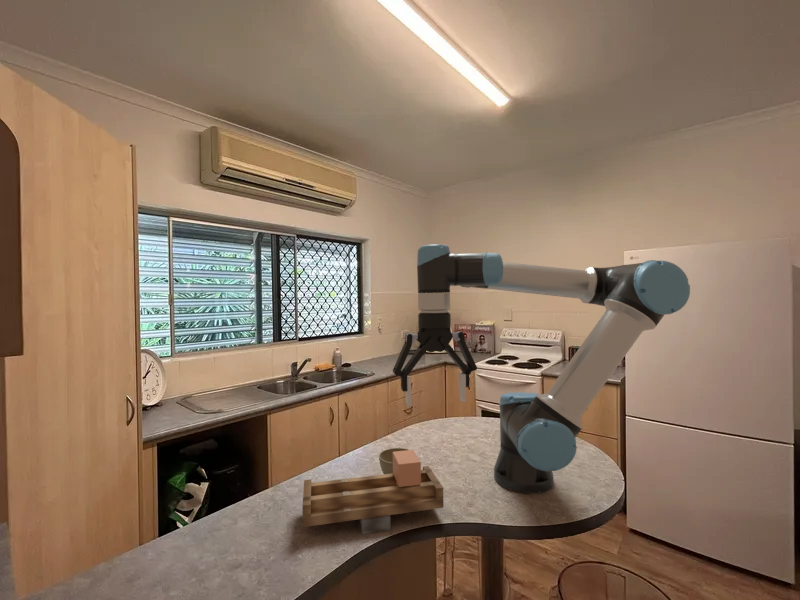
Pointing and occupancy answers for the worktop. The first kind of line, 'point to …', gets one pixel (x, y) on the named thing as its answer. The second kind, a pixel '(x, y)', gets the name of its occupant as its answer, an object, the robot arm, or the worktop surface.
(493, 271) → the robot arm
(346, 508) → the wooden crate
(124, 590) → the worktop surface
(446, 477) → the worktop surface
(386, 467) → the flower pot
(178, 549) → the worktop surface
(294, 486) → the worktop surface
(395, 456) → the block
